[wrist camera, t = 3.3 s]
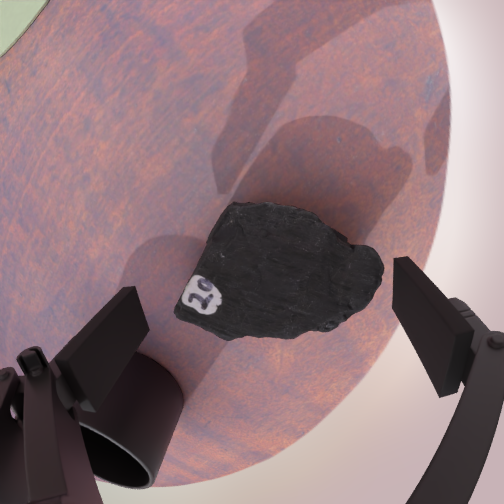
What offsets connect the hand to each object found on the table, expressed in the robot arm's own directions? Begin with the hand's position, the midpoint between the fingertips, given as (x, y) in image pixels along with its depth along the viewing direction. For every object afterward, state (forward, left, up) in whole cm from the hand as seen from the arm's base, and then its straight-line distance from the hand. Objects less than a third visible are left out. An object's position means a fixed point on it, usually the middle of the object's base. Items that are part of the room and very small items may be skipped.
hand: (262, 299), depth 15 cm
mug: (+14, +10, -6) cm, 18 cm away
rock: (0, 0, -6) cm, 6 cm away
